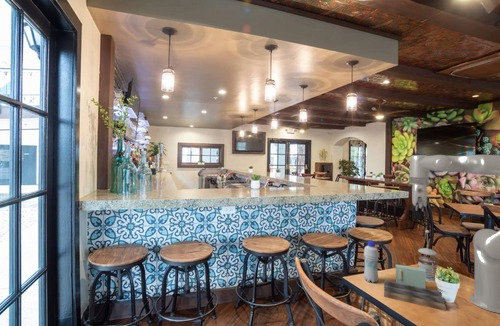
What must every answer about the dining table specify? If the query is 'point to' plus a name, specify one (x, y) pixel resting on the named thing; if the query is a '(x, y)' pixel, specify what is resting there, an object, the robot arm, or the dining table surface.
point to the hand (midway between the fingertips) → (417, 217)
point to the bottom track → (414, 295)
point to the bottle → (371, 262)
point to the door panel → (411, 276)
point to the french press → (428, 262)
